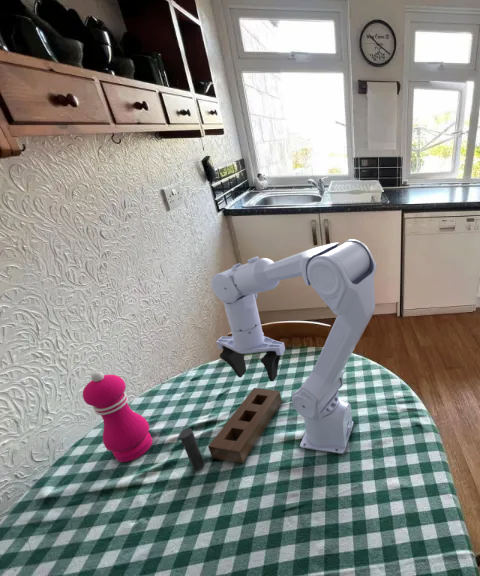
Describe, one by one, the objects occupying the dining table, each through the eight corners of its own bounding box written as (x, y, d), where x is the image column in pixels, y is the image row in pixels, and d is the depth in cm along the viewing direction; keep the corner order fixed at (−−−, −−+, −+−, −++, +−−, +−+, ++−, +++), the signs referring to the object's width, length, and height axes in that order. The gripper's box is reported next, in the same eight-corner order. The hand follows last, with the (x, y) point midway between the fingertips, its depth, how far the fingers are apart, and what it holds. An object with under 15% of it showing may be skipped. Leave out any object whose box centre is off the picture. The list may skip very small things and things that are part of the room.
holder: (282, 401, 76) (279, 390, 75) (242, 463, 62) (239, 451, 60) (256, 398, 77) (253, 387, 76) (212, 458, 63) (207, 446, 61)
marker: (207, 461, 62) (194, 429, 58) (199, 471, 60) (186, 438, 56) (197, 459, 62) (184, 427, 59) (190, 469, 61) (176, 437, 57)
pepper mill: (133, 467, 61) (91, 389, 53) (103, 461, 62) (57, 384, 54) (163, 436, 67) (130, 362, 59) (136, 431, 69) (99, 358, 60)
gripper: (287, 316, 66) (296, 368, 72) (225, 311, 68) (239, 361, 74) (270, 335, 59) (281, 389, 65) (203, 328, 62) (219, 381, 68)
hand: (257, 376), depth 69 cm, fingers open, 7 cm apart
